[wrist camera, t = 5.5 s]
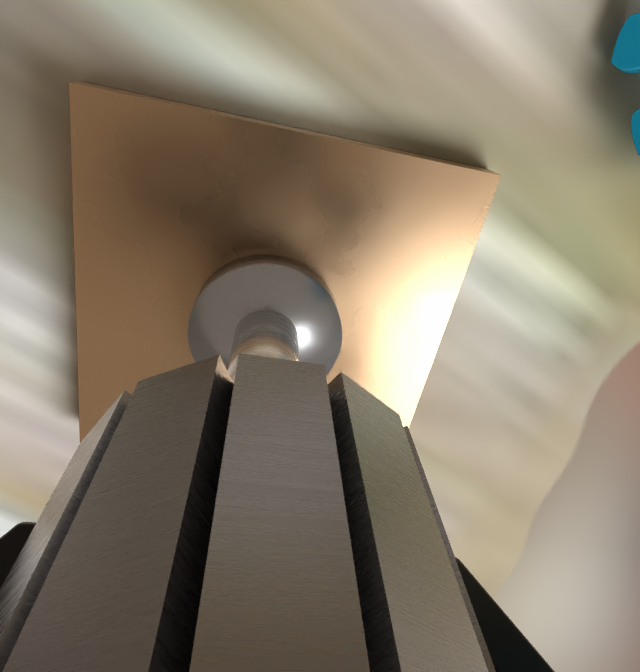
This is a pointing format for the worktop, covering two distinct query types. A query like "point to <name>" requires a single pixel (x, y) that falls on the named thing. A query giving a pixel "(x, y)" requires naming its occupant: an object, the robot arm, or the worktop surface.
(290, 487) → the hub
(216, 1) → the worktop surface
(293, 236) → the shaft stand
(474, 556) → the worktop surface
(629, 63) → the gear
